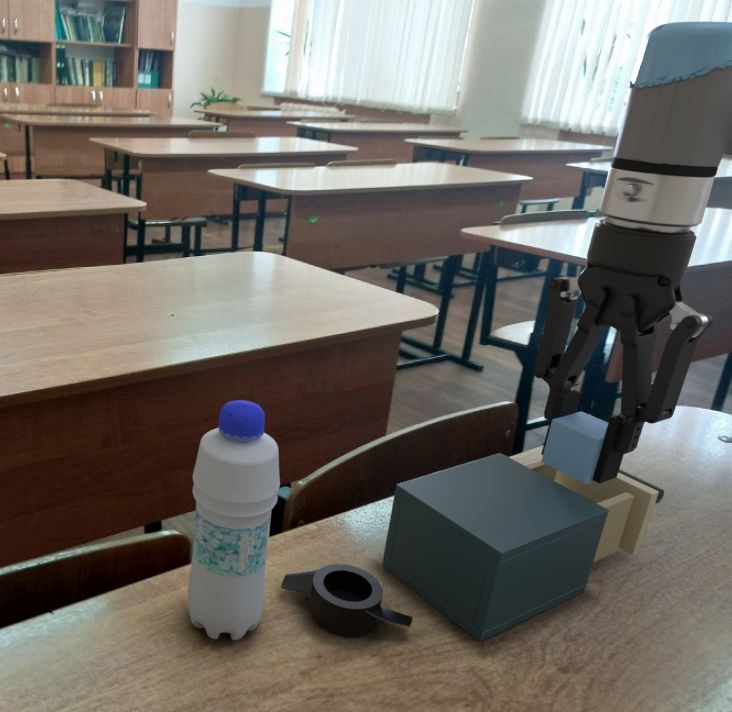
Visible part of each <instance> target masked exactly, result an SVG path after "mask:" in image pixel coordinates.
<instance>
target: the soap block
mask: <svg viewBox="0 0 732 712" xmlns="http://www.w3.org/2000/svg"><path fill="white" fill-rule="evenodd" d="M608 423H609V422H608V421H605V420H603V419H600V418H598V417H595V416H594V415H592V414H588V413H586V412H584V411H578V412H576V413H574V414H571V415H567V416H563V417H560V418H556V419H553V420H552V423H551V426H550V430H549V434H548V438H547V442H546V445H545V449H544V453H543V455H542V457H541V460H542V461H541V462H542V463H544V464H546V465H548V466H550V467H552V468H554V469H556V470H558V471H560V472H562V473H564V474H566V475H568V476H570V477H572V478H574V479H576V480H578V481H580V482H582V483H584V484H587V483H590V482H593V480H592V479H593V476H594V472H595V469H596V465H597V462H598V458H599V455H600V452H601V448H602V445H603V441H604V436H605V433H606V430H607V426H608Z"/></svg>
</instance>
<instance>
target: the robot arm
mask: <svg viewBox="0 0 732 712" xmlns="http://www.w3.org/2000/svg"><path fill="white" fill-rule="evenodd" d="M627 86H628V87H627V88H628V92H627V95H626V96H627V97H626V101H625V105H624V110H623V113H622V118H621V122H620V126H619V129H618V135H617V139H616V143H615V148H614V152H613V156H612V158H611V162H610V166H609V169H608V172H607V177H606V181H605V184H604V188H603V193H602V196H601V200H600V205H599V209H598V211H599V213H600V215H602V216H604V218H601V219H599V220H598V221H597V222H595V223H594V225H593V230H592V234H591V236H590V237H591V238H590V240H589V241H590V242H589V245H588V249H587V253H586V259H587V263H586V265H585V267H584V268H583V270H582V271H581V272H580V273H579V275H578V276H574V277H573V276H570V275H569V276H568V275H567V276H562V277H561V276H560V277H553V278H550V279H549V280H548V282H547V291H548V301H549V304H548V307H547V311H546V316H545V321H544V325H543V328H542V333H541V337H540V342H539V346H538V351H537V354H536V359H535V363H534V368H533V375H534V377H535V378H537V379H542V380H543V381H544V382H545V383H546V384H547V385H548V388H549V391H548V395H547V399H546V403H545V407H544V411H543V418H544V420H547V421H548V422H549V423H548V427H547V430H546V434H545V438H544V443H543V446H542V449H541V454H540V456H543V453H544V449H545V445H546V442H547V438H548V434H549V430H550V426H551V423H552V420H553V419H556V418H560V417H563V416H567V415H571V414H574V413H577V410H578V408H579V403H580V400H581V396H582V391H579V390H576V389H572V388H575V387H578V386H579V385H580V383H579V382H578V380H579V379H580V377H581V375H582V373H583V371H584V370H585V368H586V366H587V364H588V362H589V361H590V360H591V357H592V355H593V354H594V352H595V350H596V348H597V346H598V345H599V343H600V341H601V339H602V338H603V335H604V334H605V333H606V331H607V330H608V329H610V328H611V327H612V328H613V329H615V330H617V331H618V332H619V333H620V336H619V337H620V339H619V341H620V344H621V345H622V368H621V369H622V371H621V373H622V374H621V375H622V376H621V393H620V394H621V398H620V399H621V400H620V401H621V402H620V413H618V414H614V415H611V416H609V419H608V422H607V423H608V426H607V430H606V433H605V436H604V441H603V445H602V448H601V452H600V455H599V458H598V462H597V465H596V469H595V472H594V476H593V479H592V480H593V481H595V482H597V483H599V484H600V483H603V482H606V481H608V480H611V479H614V478H617V475H618V472H619V469H621V466H622V463H623V462H622V461H623V458H624V455H627V454H630V453H632V452H634V451H635V450H636V449H637V447H638V444H639V441H640V437H641V434H642V431H643V428H644V425H645V423H648V424H651V425H652V424H656V423H660V422H663V421H666V420H669V419H671V418H672V417H673V416H674V413H675V411H676V407H677V405H678V402H679V398H680V396H681V392H682V389H683V387H684V383H685V380H686V379H687V374H688V371H689V369H690V366H691V363H692V360H693V357H694V354H695V351H696V348H697V345H698V343H699V340H700V339H701V338H702V337H703V335H704V334H705V333H706V332H707V331H708V329H709V328H711V326H712V325H713V323H714V317H713V316H712V315H711V314H710V313H708V312H702V313H700V312H697V310H695V309H693V308H692V307H691V306H688V305H687V304H686V303H684V302H683V300H684V299H683V298H684V297H683V296H684V295H683V292H682V283H683V282H682V281H683V279H684V277H685V275H686V273H687V270H688V267H689V264H690V261H691V258H692V254H693V251H694V247H695V244H696V241H697V235H695V234H696V233H695V232H694V231H693V230H691V228H692V227H694V228H695V227H697V226H699V225H701V224H702V223H703V219H704V216H705V213H706V209H707V206H708V202H709V198H710V195H711V192H712V188H713V185H714V182H715V181H714V180H715V177H716V176H717V174H718V170H719V166H720V164H721V162H722V158H723V156H724V154H725V155H729V156H730V155H732V22H731V21H677V22H668V23H663V24H659V25H657V26H655V27H653V29H652V30H651V31H649V32H648V34H646V36H645V39H644V40H643V43H642V45H641V49H640V51H639V53H638V55H637V60H636V63H635V66H634V69H633V72H632V75H631V78H630V80H629V82H628V85H627ZM580 296H582V299H583V302H584V305H585V308H584V310H583V312H582V313H581V315H580V317H579V319H578V321H577V323H576V326H577V328H576V331H575V333H574V334H573V336H572V338H571V340H570V342H569V344H568V341H569V336H570V333H571V328H572V325H573V321H574V317H575V313H576V308H577V303H578V298H579V297H580ZM669 315H670V316H671V321H670V323H669V325H668V328H669V330H670V331H672V332H671V333H670V335H668V336H669V337H668V338H667V340H666V343H665V345H664V348H663V352H662V354H661V358H660V361H659V364H658V367H657V371H656V373H655V377H654V379H652V378H653V361H654V360H653V359H654V344H655V342H656V340H657V338H658V323H660V322H661V321H663V320H664V319H665V318H667V317H668V316H669ZM567 344H568V345H567ZM652 381H653V383H652Z"/></svg>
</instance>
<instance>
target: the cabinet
mask: <svg viewBox="0 0 732 712" xmlns="http://www.w3.org/2000/svg"><path fill="white" fill-rule="evenodd" d="M524 465H525V464H522V463H520V462H519V461H517V460H515V459H513V458H511V457H509V456H507V455H505V454H503V453H502V452H499V453H495V454H492V455H489V456H486V457H483V458H479V459H476V460H472V461H469V462H465V463H463V464H459V465H456V466H453V467H449V468H446V469H443V470H439V471H436V472H432V473H429V474H426V475H423V476H420V477H417V478H413V479H410V480H407V481H403V482H400V483H397V484H395V489H394V494H393V495H394V496H393V500H392V507H391V512H390V517H389V523H388V530H387V535H386V540H385V546H384V552H383V557H382V562H381V565H382V566H383V567H384V568H385V569H387V571H389V572H390V573H392V574H393V575H394V576H396V577H397V578H398V579H399V580H400V581H402V582H403V583H404V584H405V585H407V586H408V587H409V588H410V589H412V590H413V591H414V592H415V593H417V594H418V595H419V596H421V597H422V598H423V599H425V601H427V602H428V603H430V604H431V605H432V606H433V607H434V608H436V609H437V610H438V611H440V612H441V613H442V614H443V615H445V616H446V617H447V618H448V619H450V620H451V621H452V622H454V624H456V625H457V626H459V627H460V628H461V629H462V630H463V631H465V632H466V633H467V634H469V636H471V637H473V638H474V639H475V640H476V641H477V642H479V643H481V642H482V641H484V640H487V639H489V638H491V637H493V636H495V635H498V634H499V633H501V632H503V631H505V630H507V629H510V628H512V627H513V626H515V625H518V624H520V623H522V622H524V621H526V620H528V619H531V618H533V617H534V616H537V615H539V614H541V613H542V612H545V611H547V610H549V609H551V608H553V607H555V606H557V605H559V604H561V603H563V602H565V601H567V600H569V599H572V598H574V597H576V596H578V595H580V594H583V593H584V592H585V590H586V587H587V584H588V580H589V577H590V575H591V570H592V567H593V565H594V562H593V561H594V558H595V554H596V551H597V548H598V545H599V541H600V538H601V535H602V531H603V528H604V525H605V522H606V518H607V515H608V512H609V510H608V509H606V508H604V507H603V506H601V505H599V504H597V503H595V502H593V501H591V500H589V499H587V498H585V497H583V496H582V495H580V494H578V493H576V492H574V491H572V490H570V489H568V488H566V487H564V486H562V485H561V484H559V483H557V482H555V481H553V480H551V479H549V478H547V477H545V476H543V475H541V474H540V473H538V472H536V471H534V470H532V469H530V468H528V467H526V466H524Z"/></svg>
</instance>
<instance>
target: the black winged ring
mask: <svg viewBox="0 0 732 712" xmlns="http://www.w3.org/2000/svg"><path fill="white" fill-rule="evenodd" d="M281 581H282V582H281V585H280V589H281V590H285V591H290V592H292V593H293V592H294V593H297V594H300V595H302V596H305V597H307V598H309V606H308V607H309V608H308V611H309V615H310V617H311V619H312V620H313V622H314V623H315V624H317V626H318V627H320V628H321V629H323V630H324V631H326V632H327V633H330V634H332V635H335V636H338V637H342V638H348V639H349V638H350V639H353V638H355V639H357V638H362V637H366V636H368V635H370V634H371V633H373V632H374V631H375V630H376V629H377V626H378V623H379V620H380V621H383V622H387V623H389V624H392V625H397V626H401V627H407V628H410V627H411V625H412V623H413V616H411V615H408V614H405V613H403V612H402V613H401V612H399V611H396V610H393V609H391V608H388V607H385V606H382V601H383V596H384V590H383V587H382V584H381V582H380V581H379V580H378V579H377V577H376V576H374V575H373V574H372V573H371V572H368V571H367V570H365V569H362V568H361V567H359V566H354V565H351V564H344V563H334V564H328V565H325V566H322V567H321V568H316V569H309V570H304V571H303V570H301V571H295V572H294V571H293V572H287V573H285V575H284V577H283V579H282V580H281Z"/></svg>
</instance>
